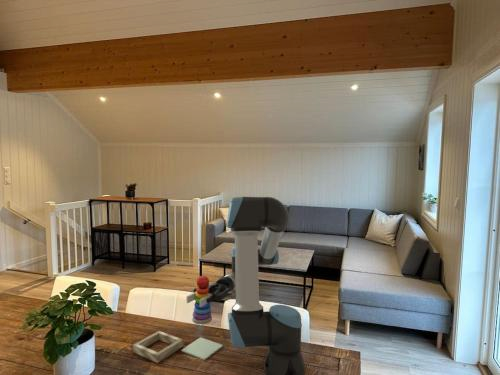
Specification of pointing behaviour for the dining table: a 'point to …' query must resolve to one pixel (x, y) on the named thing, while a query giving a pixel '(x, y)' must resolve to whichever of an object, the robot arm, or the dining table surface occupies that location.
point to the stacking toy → (200, 313)
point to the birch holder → (158, 356)
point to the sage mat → (202, 348)
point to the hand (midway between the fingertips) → (193, 301)
